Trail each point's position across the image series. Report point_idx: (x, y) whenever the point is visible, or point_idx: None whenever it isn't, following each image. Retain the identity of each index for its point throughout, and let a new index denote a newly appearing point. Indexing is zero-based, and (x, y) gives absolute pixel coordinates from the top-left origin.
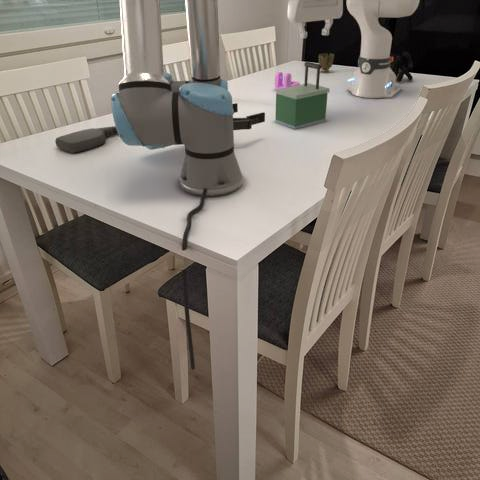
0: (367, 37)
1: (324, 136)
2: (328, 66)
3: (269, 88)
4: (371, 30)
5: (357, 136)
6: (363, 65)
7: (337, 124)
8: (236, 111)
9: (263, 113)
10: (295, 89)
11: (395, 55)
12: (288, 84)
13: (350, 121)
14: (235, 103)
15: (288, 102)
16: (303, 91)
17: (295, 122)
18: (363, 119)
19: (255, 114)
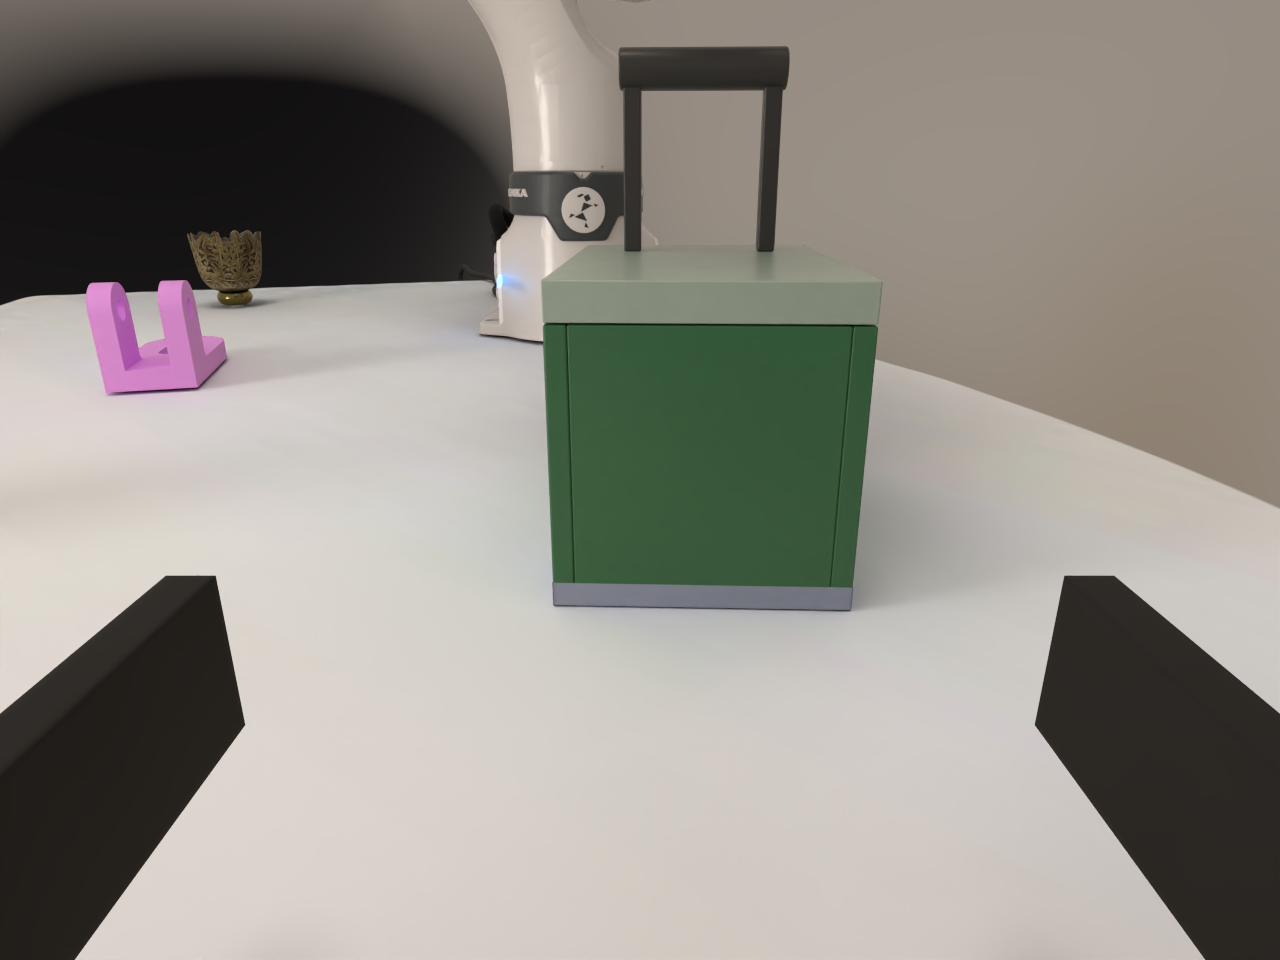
0: (566, 72)
1: (1141, 581)
2: (252, 278)
3: (49, 393)
4: (582, 37)
5: (1189, 502)
6: (570, 203)
7: (891, 469)
8: (229, 729)
9: (1134, 599)
10: (673, 264)
11: (508, 211)
12: (195, 345)
13: (873, 436)
14: (166, 588)
15: (752, 378)
16: (776, 264)
17: (854, 548)
18: (874, 412)
19: (1216, 703)
